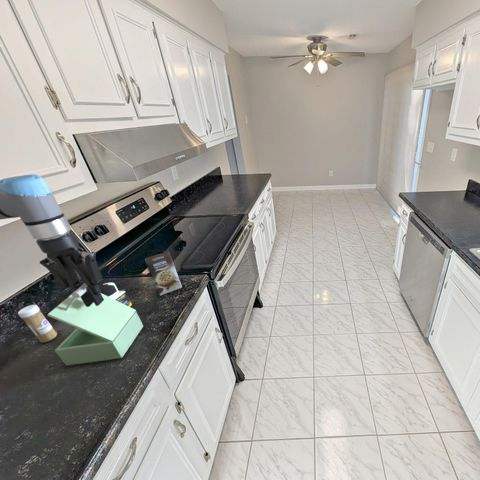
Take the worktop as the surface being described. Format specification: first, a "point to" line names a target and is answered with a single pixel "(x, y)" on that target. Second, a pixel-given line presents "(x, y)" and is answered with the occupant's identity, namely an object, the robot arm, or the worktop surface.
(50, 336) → the sprinkles bottle
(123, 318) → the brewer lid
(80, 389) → the worktop surface
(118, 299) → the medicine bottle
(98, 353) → the green storage bin
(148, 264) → the coffee box
